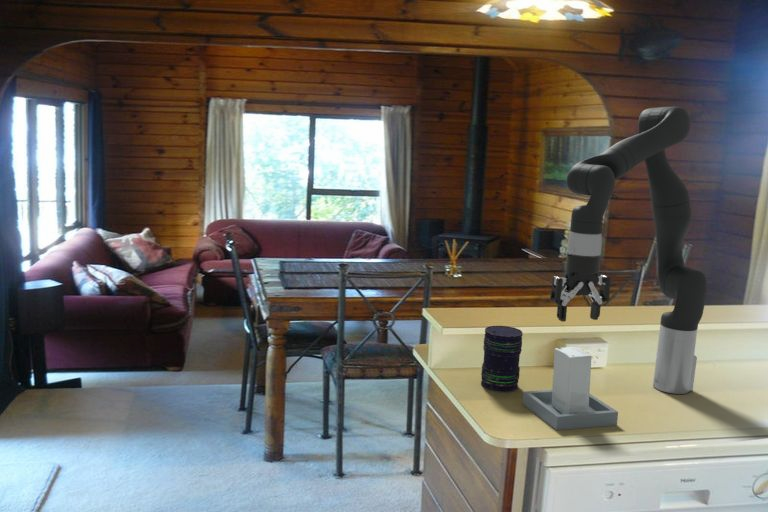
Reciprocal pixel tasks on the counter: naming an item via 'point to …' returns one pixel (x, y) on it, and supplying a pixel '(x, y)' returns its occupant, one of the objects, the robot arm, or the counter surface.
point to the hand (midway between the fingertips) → (577, 319)
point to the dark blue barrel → (501, 358)
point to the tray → (593, 418)
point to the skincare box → (571, 380)
